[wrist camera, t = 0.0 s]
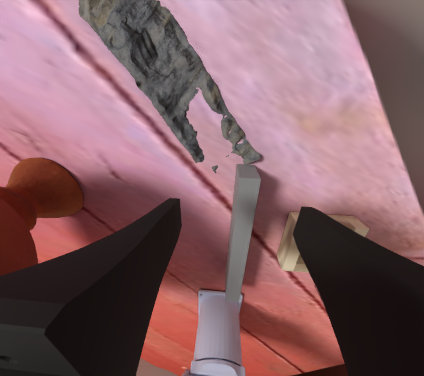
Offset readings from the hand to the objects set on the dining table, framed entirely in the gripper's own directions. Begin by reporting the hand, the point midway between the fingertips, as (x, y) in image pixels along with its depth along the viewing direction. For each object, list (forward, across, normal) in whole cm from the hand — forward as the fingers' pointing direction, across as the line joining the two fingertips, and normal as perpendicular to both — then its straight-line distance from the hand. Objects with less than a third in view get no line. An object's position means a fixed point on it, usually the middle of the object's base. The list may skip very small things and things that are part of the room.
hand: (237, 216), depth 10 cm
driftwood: (+11, +6, -7) cm, 14 cm away
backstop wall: (+10, -2, +10) cm, 14 cm away
